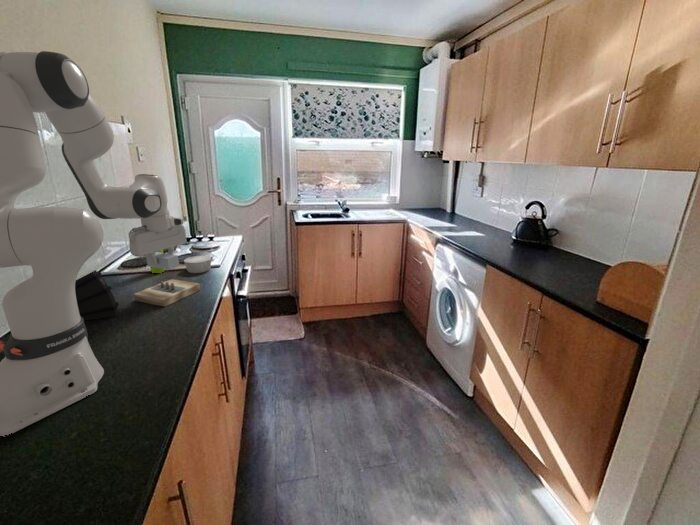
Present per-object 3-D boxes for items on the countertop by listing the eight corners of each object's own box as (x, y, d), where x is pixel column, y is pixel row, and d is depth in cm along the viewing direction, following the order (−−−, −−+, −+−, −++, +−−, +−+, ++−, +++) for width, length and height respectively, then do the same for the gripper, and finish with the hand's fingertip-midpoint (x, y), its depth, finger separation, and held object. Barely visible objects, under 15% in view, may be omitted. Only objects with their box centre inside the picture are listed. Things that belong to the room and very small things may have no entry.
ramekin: (194, 265, 156) (193, 254, 155) (217, 266, 155) (216, 255, 153) (179, 273, 146) (178, 262, 144) (203, 275, 144) (202, 263, 143)
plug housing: (179, 265, 121) (177, 255, 119) (169, 269, 117) (167, 258, 115) (158, 262, 124) (156, 252, 123) (147, 266, 120) (145, 255, 119)
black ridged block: (126, 311, 107) (92, 272, 101) (86, 332, 105) (49, 295, 99) (130, 306, 110) (97, 269, 104) (91, 327, 109) (56, 290, 103)
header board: (164, 306, 114) (162, 293, 112) (135, 300, 119) (132, 287, 117) (200, 289, 128) (198, 277, 127) (172, 284, 133) (170, 273, 131)
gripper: (135, 230, 105) (143, 271, 109) (186, 218, 123) (191, 254, 128) (120, 228, 107) (129, 269, 112) (173, 217, 125) (179, 253, 130)
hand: (163, 261), depth 120 cm, fingers closed on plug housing, 4 cm apart
